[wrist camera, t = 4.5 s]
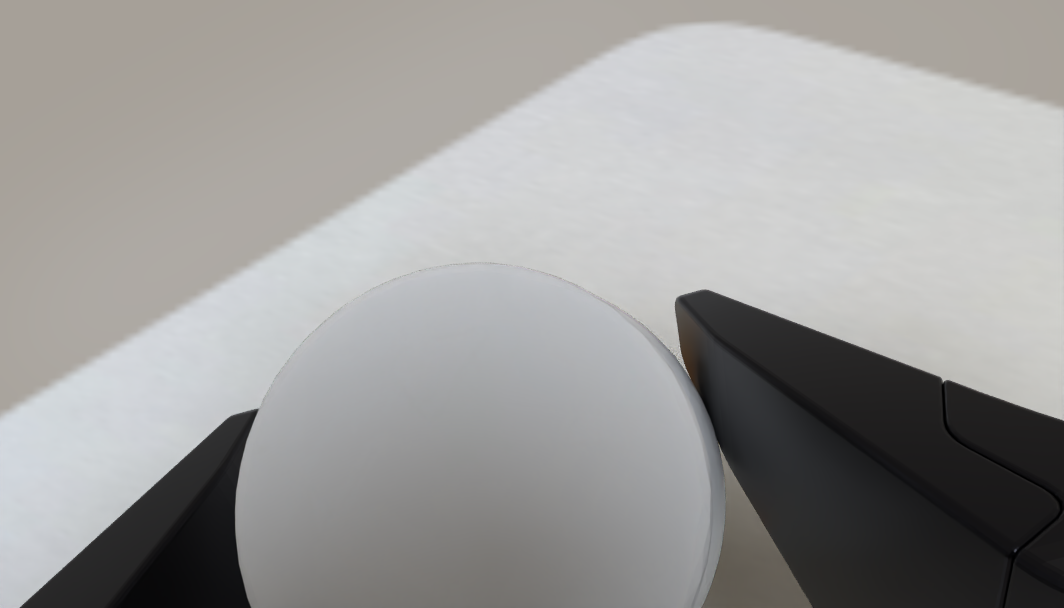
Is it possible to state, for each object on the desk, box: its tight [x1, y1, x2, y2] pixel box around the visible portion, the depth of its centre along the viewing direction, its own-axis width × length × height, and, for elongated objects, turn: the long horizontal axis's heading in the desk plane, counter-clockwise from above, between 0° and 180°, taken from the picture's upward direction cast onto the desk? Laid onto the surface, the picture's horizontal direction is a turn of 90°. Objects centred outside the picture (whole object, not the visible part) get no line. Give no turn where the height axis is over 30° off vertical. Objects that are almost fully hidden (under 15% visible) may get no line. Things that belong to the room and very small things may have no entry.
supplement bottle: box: [235, 263, 726, 608], centre depth 10 cm, size 5×5×10 cm
